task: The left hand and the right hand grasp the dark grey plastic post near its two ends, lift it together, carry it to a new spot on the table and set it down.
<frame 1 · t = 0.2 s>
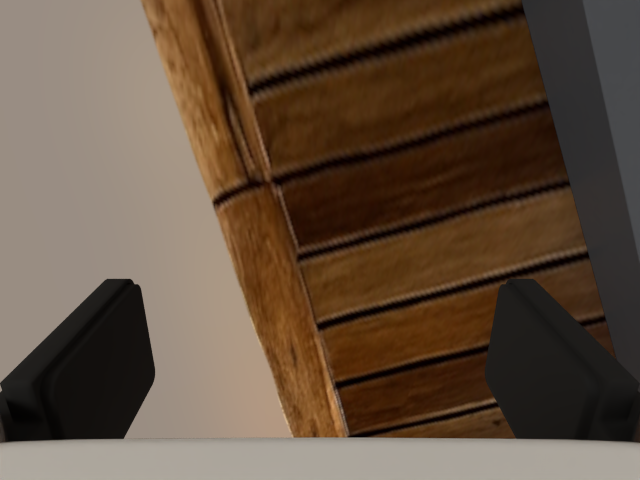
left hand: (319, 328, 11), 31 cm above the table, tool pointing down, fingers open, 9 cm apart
post: (604, 209, 42), on the table
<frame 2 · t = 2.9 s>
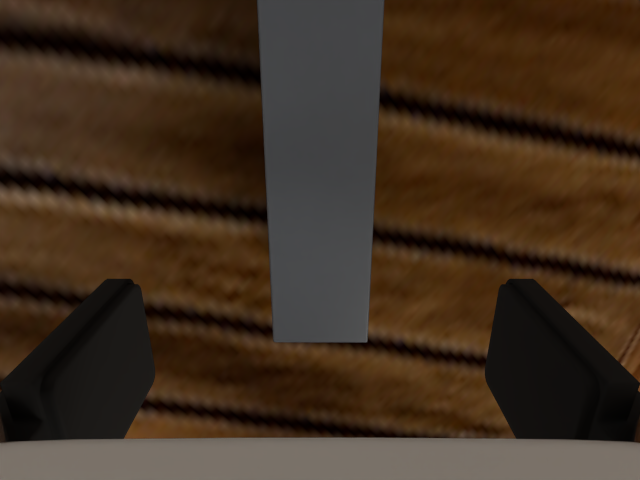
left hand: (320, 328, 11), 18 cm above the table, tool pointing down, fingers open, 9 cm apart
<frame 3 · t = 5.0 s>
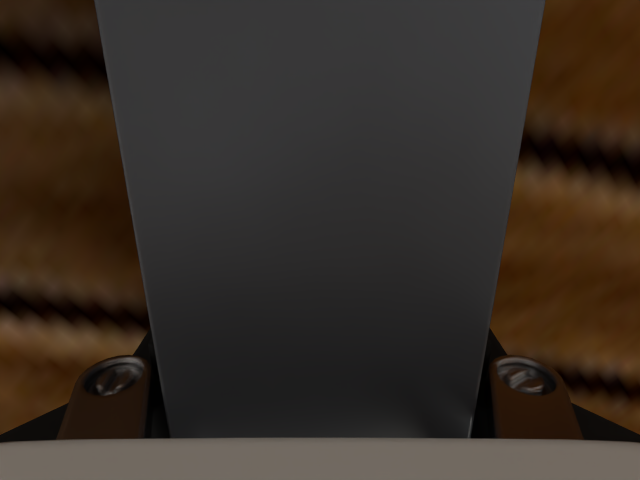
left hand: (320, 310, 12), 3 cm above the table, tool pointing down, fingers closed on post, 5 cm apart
when the right hand's fingers open (2 cm above the table, at t = 9.1 s): post drops 1 cm, on the table.
when the left hand's fingers open (5 cm above the table, at t = 9.2 s): post stays where it is, on the table.
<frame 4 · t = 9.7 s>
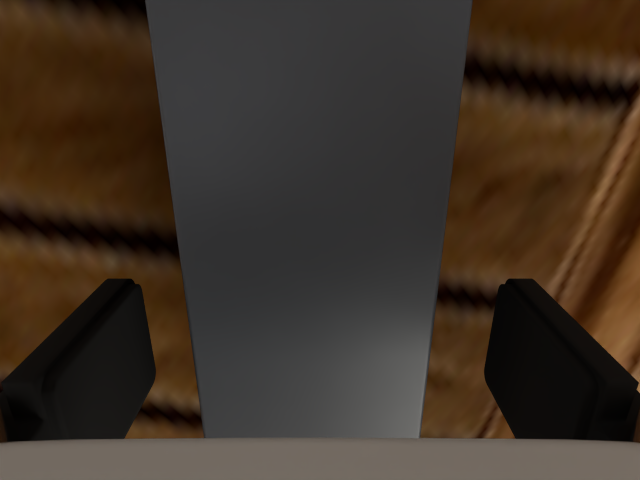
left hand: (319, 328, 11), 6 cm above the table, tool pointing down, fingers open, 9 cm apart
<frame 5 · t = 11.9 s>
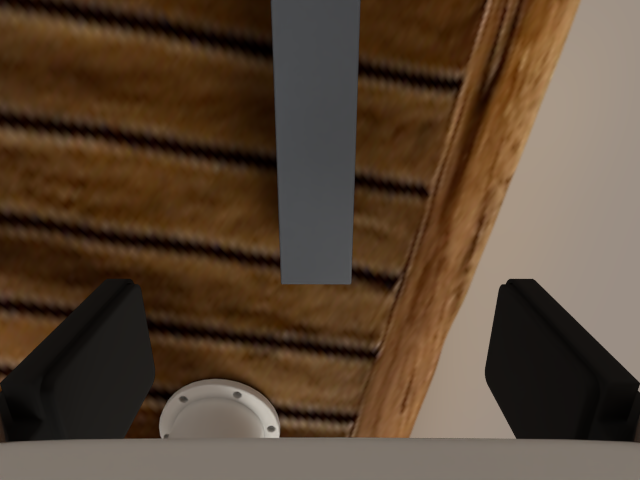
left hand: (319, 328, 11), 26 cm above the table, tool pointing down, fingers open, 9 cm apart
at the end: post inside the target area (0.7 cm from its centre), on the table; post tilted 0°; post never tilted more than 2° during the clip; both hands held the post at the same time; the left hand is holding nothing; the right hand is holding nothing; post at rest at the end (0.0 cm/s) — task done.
